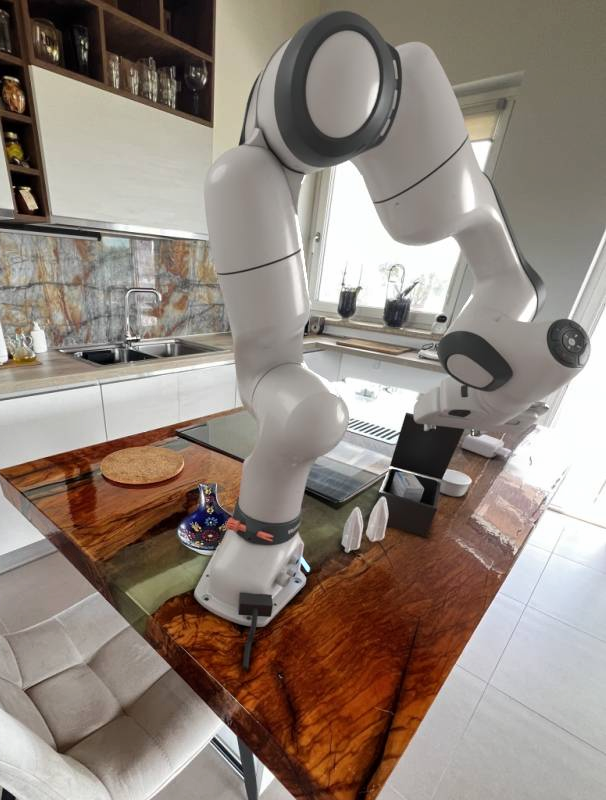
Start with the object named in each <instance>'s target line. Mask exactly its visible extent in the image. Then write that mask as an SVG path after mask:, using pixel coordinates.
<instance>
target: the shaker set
mask: <svg viewBox="0 0 606 800" xmlns="http://www.w3.org/2000/svg"><path fill="white" fill-rule="evenodd" d="M374 506H375V507H374ZM374 506H373V508H372V511H371V512H370V515H369V518H368V524H367V529H366V530H365V535H366V536H367V539H369V541H370V542H371V543H374V542H380V541H383V539H385V536H386V535H385V534H386V529H387V526H388V525H387V520H388V507H387V502H386V498H385V497H381V498H380V499H379V501H378V502H377V504H376V505H375V504H374ZM363 530H364V520H363V515H362V511H361V509H360V507H358V506H356V507H354V509H353V510H352V511H351V513H350V514H349V516H348V518H347V520H346V522H345V523H344V527H343V532H342V539H341V546H342V547H344V550H343V551H344V552H345V553H350V552H351V551H352V550H353V551H355V550H358V549H360V547H361V541H362V536H363Z"/></svg>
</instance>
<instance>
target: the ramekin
mask: <svg viewBox="0 0 606 800" xmlns="http://www.w3.org/2000/svg"><path fill="white" fill-rule="evenodd" d="M435 479H437V478H435ZM437 480H441V479H437ZM472 482H473V480H472V478H471V476H469V475H467V474H465V473H463V472H461V471H458V470H454V469H448V468H447V470H446V472H445V474H444V476H443V478H442V480H441V487H440V493H441V494H442V495H443V494H444V495H446V496H450V497H463V496H464V495H465V494H466V492H467V490H468V488H469V486H470V485H471V484H472Z"/></svg>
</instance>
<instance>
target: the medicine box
mask: <svg viewBox="0 0 606 800" xmlns="http://www.w3.org/2000/svg"><path fill="white" fill-rule="evenodd" d="M413 473H414V472H412V473H406V472H396V473H395V475H394V478H393V482H392V485H391V488H390V491H389V493H390V494H394V495H397V496H400V497H404V498H407V499H411V500H414V501H417V502H420V499H421V496H422V494H423V491H424V488H423V487H422V485H421V484H420V483H419V481H418V480H417V478H416V477H415V476H414V475H413Z"/></svg>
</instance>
